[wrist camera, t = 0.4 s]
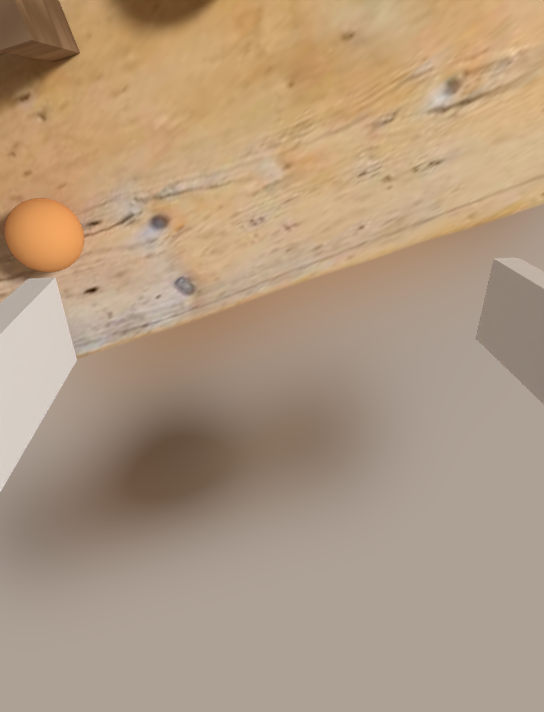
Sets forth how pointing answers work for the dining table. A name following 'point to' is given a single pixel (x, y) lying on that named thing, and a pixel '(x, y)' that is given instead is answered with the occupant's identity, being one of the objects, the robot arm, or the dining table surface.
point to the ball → (44, 235)
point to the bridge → (35, 30)
